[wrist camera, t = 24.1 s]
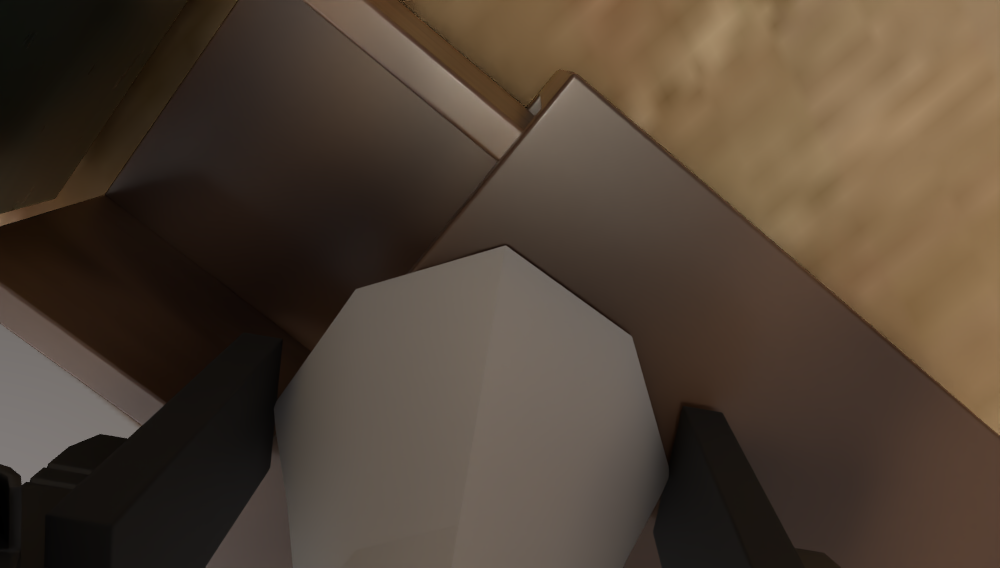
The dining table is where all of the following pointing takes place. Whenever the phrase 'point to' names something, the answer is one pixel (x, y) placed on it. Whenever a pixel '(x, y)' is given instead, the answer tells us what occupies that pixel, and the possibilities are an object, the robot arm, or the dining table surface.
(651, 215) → the cabinet
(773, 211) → the dining table surface
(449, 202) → the drawer
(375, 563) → the flask
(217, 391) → the robot arm
